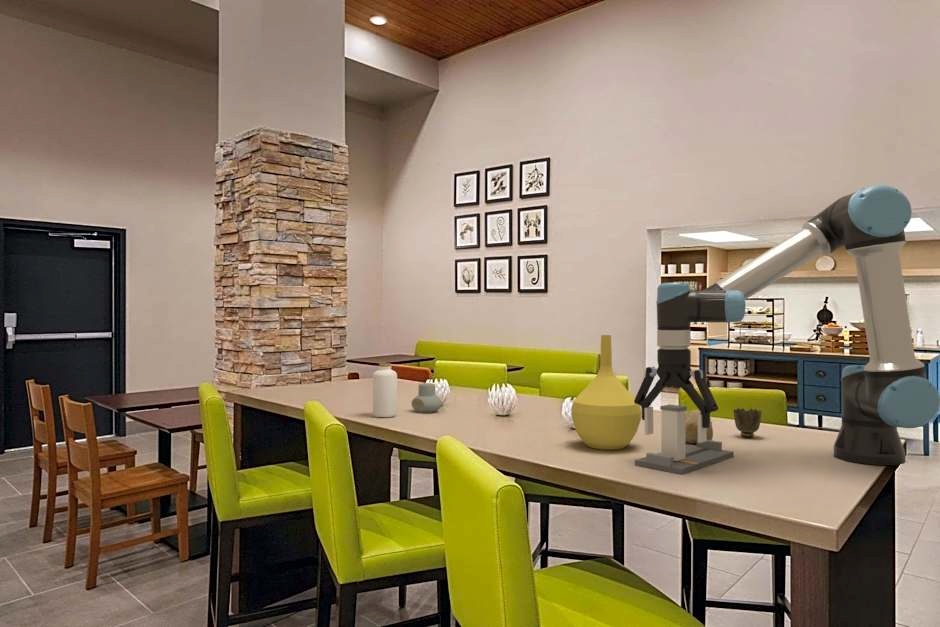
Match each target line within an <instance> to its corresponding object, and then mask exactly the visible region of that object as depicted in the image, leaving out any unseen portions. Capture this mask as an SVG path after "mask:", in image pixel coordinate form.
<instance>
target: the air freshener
mask: <svg viewBox="0 0 940 627" xmlns="http://www.w3.org/2000/svg"><path fill="white" fill-rule="evenodd" d="M442 405H443V401H442V399H441V398H440V397H439V396H437V395H436V384H435V383H432V382H431V383H429V382H428V383H427V382H424V383H422V382H421V383H419V384H418V395H416V396H415V397H414V398H413V399H412V400H411V407H412V409H413V410H414V411H416V412H418V413H419V412H432V413H436V412H437V411H439V410H440V409H441V408H442Z"/></svg>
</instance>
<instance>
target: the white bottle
mask: <svg viewBox="0 0 940 627" xmlns="http://www.w3.org/2000/svg"><path fill="white" fill-rule="evenodd" d="M397 414H398V374H397V372H396V371H395V370H393V369H392V363H385V362H384V363H378V369H377V370H375V371H374V372H373V374H372V416H374V417H375V418H378V417H390V418H393V417H392V416H394V417H396V416H397Z"/></svg>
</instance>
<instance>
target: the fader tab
mask: <svg viewBox="0 0 940 627" xmlns="http://www.w3.org/2000/svg"><path fill="white" fill-rule="evenodd" d="M659 407H660V408H659V410H661V428H660V429H661V438H660V440H661V452H660V453H661V455H666V456H672V457H674V461H679V460H682V459H685V446H686V445H687V444H686V443H687V442H686V412H687V411H688V406H686V405H678V404H670V403H669V404H666V405H665V404H664V405H660V406H659Z"/></svg>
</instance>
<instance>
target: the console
mask: <svg viewBox="0 0 940 627" xmlns="http://www.w3.org/2000/svg"><path fill="white" fill-rule="evenodd" d="M645 455H646V456H643V457H641V458H638V459H634V465H635V466H637V467H642V468H647V469H653V470H657V471H662V472H668V473H673V474H678V475H685V474H688V473H690V472H693V471H696V470H699V469H702V468H705V467H707V466H708V467H709V466H711V465H713V464H716V463H719V462H722V461H725V460H727V459H731V458H734V451H733V450H732V451H731V450H726V449H723V441H718V440H713V439H712V440H707V441H705V442H702V443H698V439H697V443H696V445H695V444H694V445H693V444H690V443H688V444H686V446H685V459H682V460H679V461H674V457H672V456H666V455H661V452H658V453H655V452H647V453H646V454H645Z"/></svg>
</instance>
